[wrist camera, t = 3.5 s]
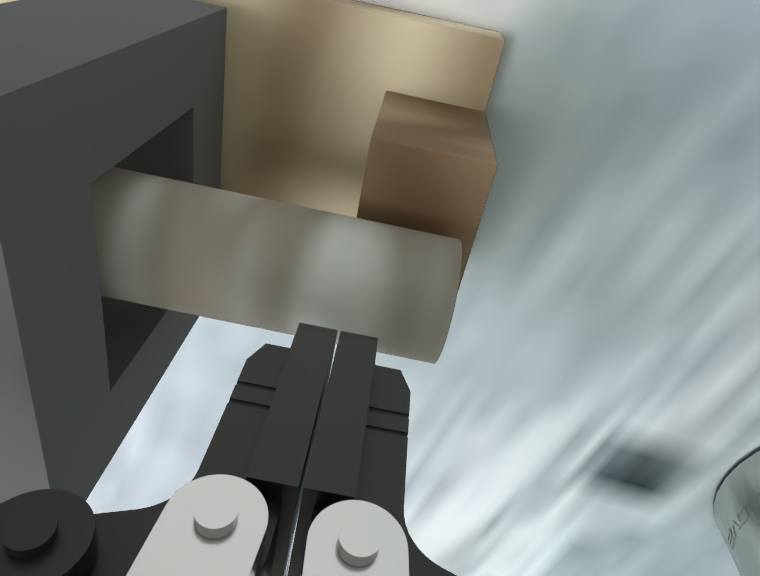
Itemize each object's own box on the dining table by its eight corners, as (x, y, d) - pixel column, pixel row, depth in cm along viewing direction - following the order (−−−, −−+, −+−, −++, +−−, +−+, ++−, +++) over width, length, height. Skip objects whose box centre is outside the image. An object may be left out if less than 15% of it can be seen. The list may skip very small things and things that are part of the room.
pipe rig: (500, 32, 17) (548, 118, 10) (425, 301, 23) (417, 493, 15) (-306, -144, 17) (-940, -204, 9) (-186, 175, 22) (-519, 309, 14)
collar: (226, 7, 15) (-27, 106, 7) (216, 287, 20) (60, 541, 12) (114, -17, 15) (-278, 53, 7) (131, 270, 20) (-86, 513, 12)
